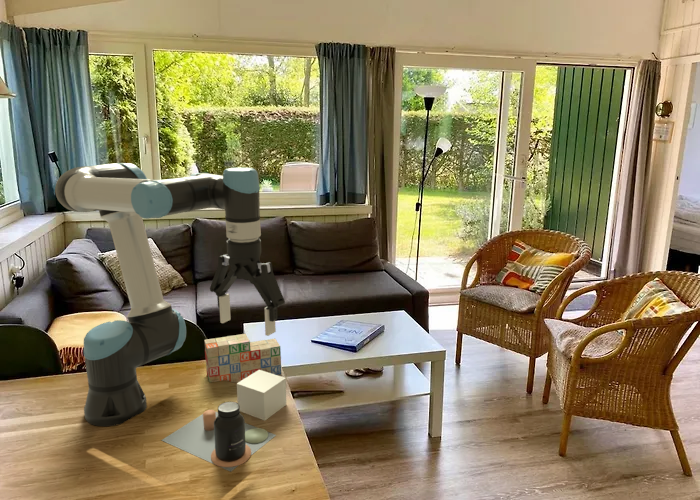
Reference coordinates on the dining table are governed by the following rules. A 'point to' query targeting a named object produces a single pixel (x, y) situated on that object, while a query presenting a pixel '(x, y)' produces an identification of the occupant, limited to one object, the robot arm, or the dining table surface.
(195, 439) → the board
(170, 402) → the dining table surface
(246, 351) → the stack of blocks
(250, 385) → the plain off-white box
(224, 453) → the supplement bottle
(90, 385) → the robot arm
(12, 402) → the dining table surface
